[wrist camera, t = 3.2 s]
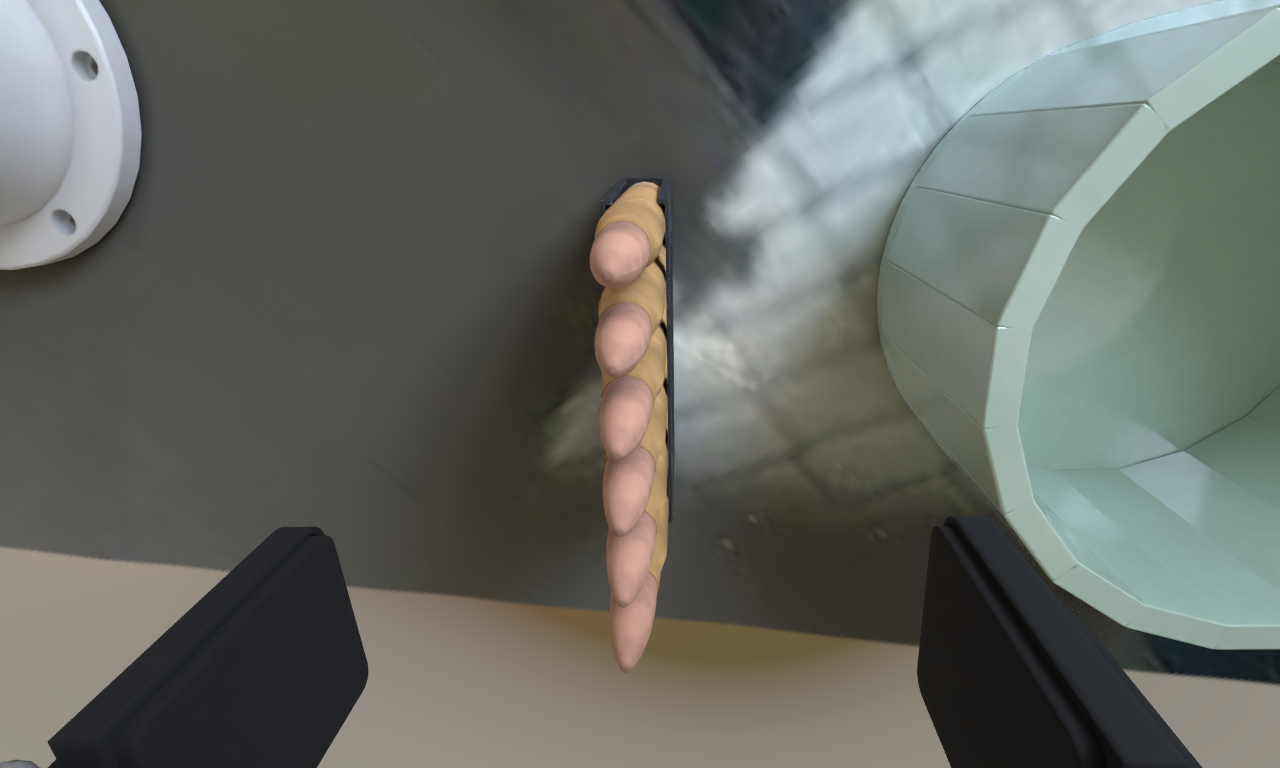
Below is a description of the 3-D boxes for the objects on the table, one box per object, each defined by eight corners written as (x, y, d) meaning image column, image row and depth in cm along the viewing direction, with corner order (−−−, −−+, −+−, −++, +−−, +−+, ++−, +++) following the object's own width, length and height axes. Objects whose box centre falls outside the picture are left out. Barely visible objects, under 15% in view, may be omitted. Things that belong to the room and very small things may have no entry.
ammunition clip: (617, 178, 22) (550, 221, 11) (671, 177, 22) (660, 218, 11) (628, 457, 26) (586, 701, 15) (674, 457, 26) (668, 704, 14)
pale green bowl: (864, 483, 26) (952, 652, 17) (891, 45, 20) (1042, -23, 12) (1286, 471, 24) (1605, 648, 16) (1441, -1, 19) (2056, -113, 10)
